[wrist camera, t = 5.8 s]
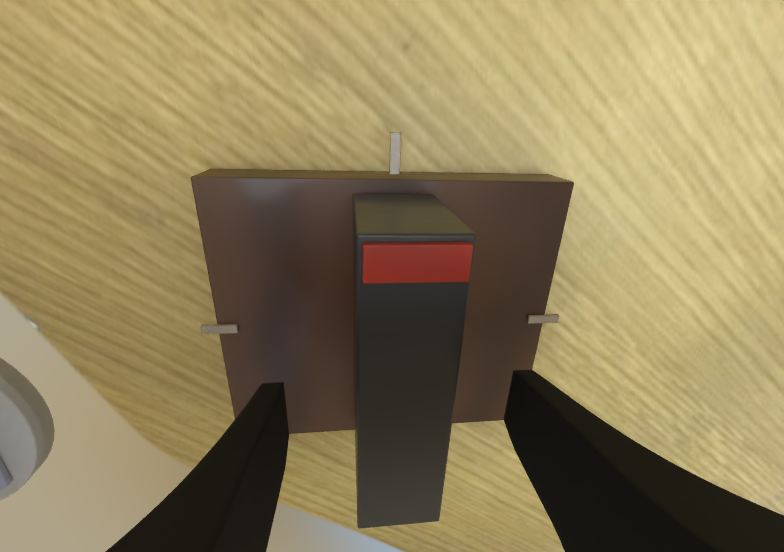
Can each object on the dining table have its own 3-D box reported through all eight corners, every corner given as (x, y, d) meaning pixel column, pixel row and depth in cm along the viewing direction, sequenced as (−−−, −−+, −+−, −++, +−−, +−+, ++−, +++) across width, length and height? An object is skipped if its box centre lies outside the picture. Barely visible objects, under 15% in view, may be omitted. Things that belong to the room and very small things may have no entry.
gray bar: (416, 419, 18) (441, 528, 13) (354, 422, 18) (357, 537, 13) (434, 194, 14) (480, 237, 9) (353, 193, 13) (356, 237, 9)
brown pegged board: (240, 430, 20) (228, 465, 18) (185, 123, 14) (158, 125, 12) (511, 413, 21) (528, 443, 20) (570, 135, 15) (602, 138, 13)
